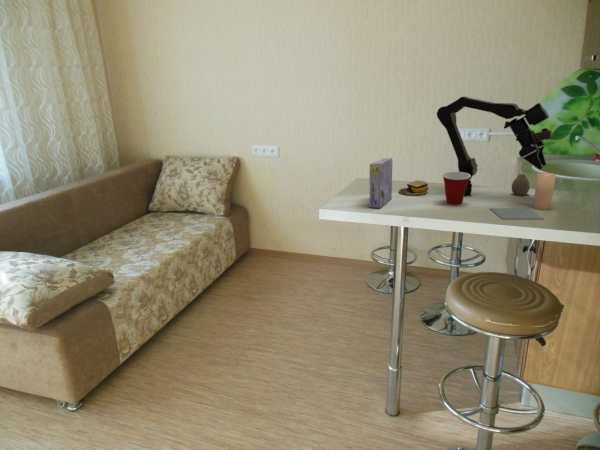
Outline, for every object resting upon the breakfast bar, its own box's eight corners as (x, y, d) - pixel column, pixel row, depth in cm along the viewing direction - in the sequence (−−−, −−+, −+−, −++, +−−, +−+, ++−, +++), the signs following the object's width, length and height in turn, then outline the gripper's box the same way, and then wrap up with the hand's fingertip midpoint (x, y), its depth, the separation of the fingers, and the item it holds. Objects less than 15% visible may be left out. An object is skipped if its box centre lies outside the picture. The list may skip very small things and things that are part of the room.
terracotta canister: (537, 209, 166) (541, 175, 162) (530, 205, 172) (534, 172, 168) (553, 209, 166) (558, 175, 162) (546, 205, 171) (551, 172, 167)
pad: (502, 219, 155) (502, 218, 155) (489, 209, 169) (489, 208, 168) (543, 219, 154) (544, 218, 154) (527, 209, 167) (527, 208, 167)
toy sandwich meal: (393, 192, 202) (393, 181, 200) (418, 189, 206) (418, 179, 205) (408, 197, 190) (409, 187, 189) (434, 194, 195) (435, 184, 193)
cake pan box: (381, 197, 191) (383, 156, 186) (393, 198, 189) (394, 157, 184) (368, 208, 175) (369, 163, 169) (380, 209, 172) (381, 164, 167)
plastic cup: (439, 205, 175) (441, 176, 172) (440, 199, 185) (442, 171, 181) (468, 207, 171) (471, 177, 168) (468, 201, 181) (471, 172, 178)
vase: (510, 195, 188) (512, 175, 186) (511, 192, 194) (513, 172, 192) (528, 197, 185) (531, 176, 183) (528, 193, 191) (531, 173, 188)
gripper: (539, 122, 160) (561, 159, 159) (547, 119, 175) (567, 153, 174) (509, 138, 167) (530, 174, 166) (519, 134, 182) (539, 167, 181)
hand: (543, 167), depth 172 cm, fingers open, 9 cm apart
